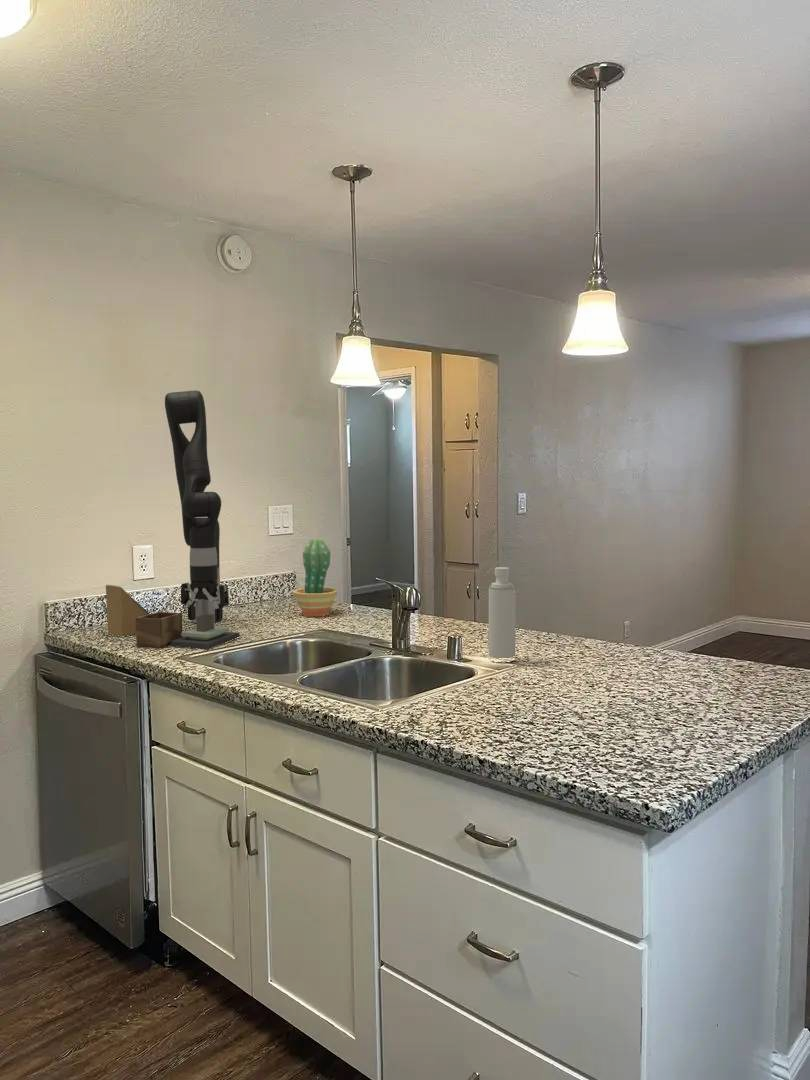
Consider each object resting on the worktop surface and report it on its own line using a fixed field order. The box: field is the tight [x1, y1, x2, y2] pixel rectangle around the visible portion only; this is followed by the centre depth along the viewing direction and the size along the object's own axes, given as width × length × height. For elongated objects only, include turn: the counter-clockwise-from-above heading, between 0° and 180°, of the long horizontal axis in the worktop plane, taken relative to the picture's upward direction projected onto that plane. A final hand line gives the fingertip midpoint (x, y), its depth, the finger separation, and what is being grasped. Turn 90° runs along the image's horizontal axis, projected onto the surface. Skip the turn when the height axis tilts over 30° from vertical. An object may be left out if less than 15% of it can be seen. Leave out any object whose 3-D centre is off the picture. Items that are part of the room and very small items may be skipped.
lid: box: [181, 614, 230, 640], centre depth 230 cm, size 11×9×6 cm
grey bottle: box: [488, 566, 517, 658], centre depth 205 cm, size 7×7×25 cm
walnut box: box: [135, 611, 184, 649], centre depth 228 cm, size 10×8×8 cm
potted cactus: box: [292, 539, 339, 617], centre depth 271 cm, size 15×15×25 cm
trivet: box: [170, 631, 240, 650], centre depth 230 cm, size 16×12×2 cm
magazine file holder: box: [105, 584, 151, 637], centre depth 246 cm, size 9×15×15 cm, turn 139°
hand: (205, 620), depth 230 cm, fingers open, 8 cm apart
